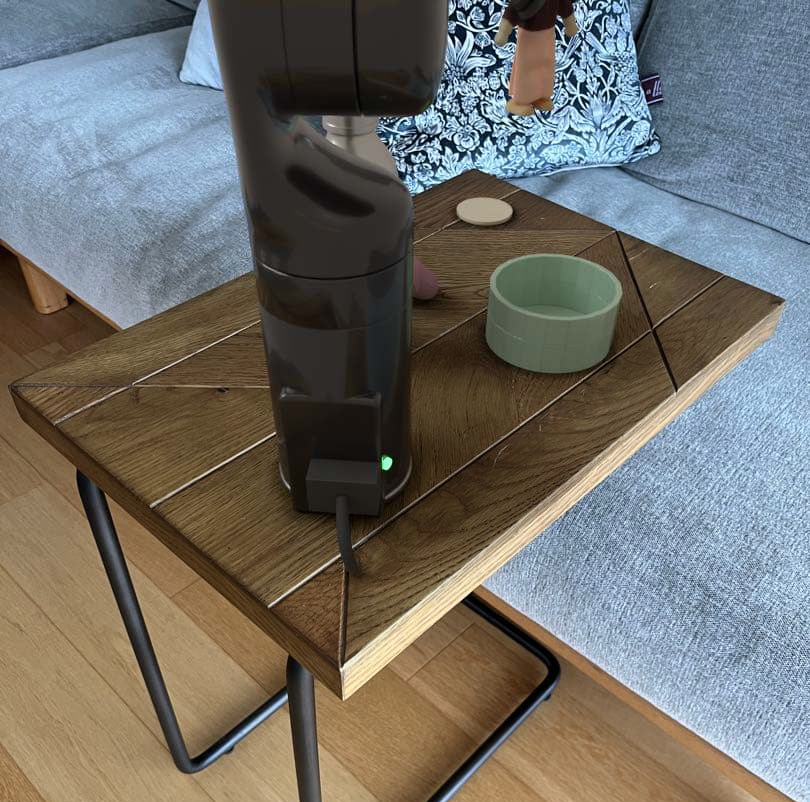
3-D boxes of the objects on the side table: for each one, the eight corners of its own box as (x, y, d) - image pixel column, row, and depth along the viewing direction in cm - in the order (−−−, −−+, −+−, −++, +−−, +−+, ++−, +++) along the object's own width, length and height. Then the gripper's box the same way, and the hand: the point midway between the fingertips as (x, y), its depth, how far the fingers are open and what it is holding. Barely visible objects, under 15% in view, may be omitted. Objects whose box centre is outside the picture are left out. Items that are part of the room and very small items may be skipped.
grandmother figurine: (540, 92, 72) (561, -86, 62) (572, 105, 70) (600, -77, 61) (477, 113, 69) (489, -72, 59) (509, 127, 67) (528, -62, 57)
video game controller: (332, 301, 78) (309, 252, 71) (353, 262, 79) (332, 211, 72) (424, 327, 74) (409, 279, 68) (445, 287, 75) (432, 236, 69)
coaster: (512, 226, 85) (512, 223, 85) (455, 224, 86) (455, 220, 85) (512, 202, 90) (512, 198, 89) (457, 199, 90) (457, 196, 90)
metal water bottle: (304, 348, 69) (280, 92, 55) (370, 324, 72) (363, 74, 58) (346, 385, 66) (332, 121, 51) (413, 357, 68) (418, 100, 54)
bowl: (616, 377, 67) (628, 323, 63) (484, 369, 67) (489, 315, 64) (605, 308, 74) (615, 256, 71) (486, 302, 75) (491, 250, 71)
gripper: (409, -266, 53) (534, -13, 56) (542, -271, 60) (646, -47, 63) (354, -167, 59) (470, 56, 62) (481, -182, 66) (578, 18, 69)
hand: (558, 3), depth 63 cm, fingers closed on grandmother figurine, 5 cm apart
